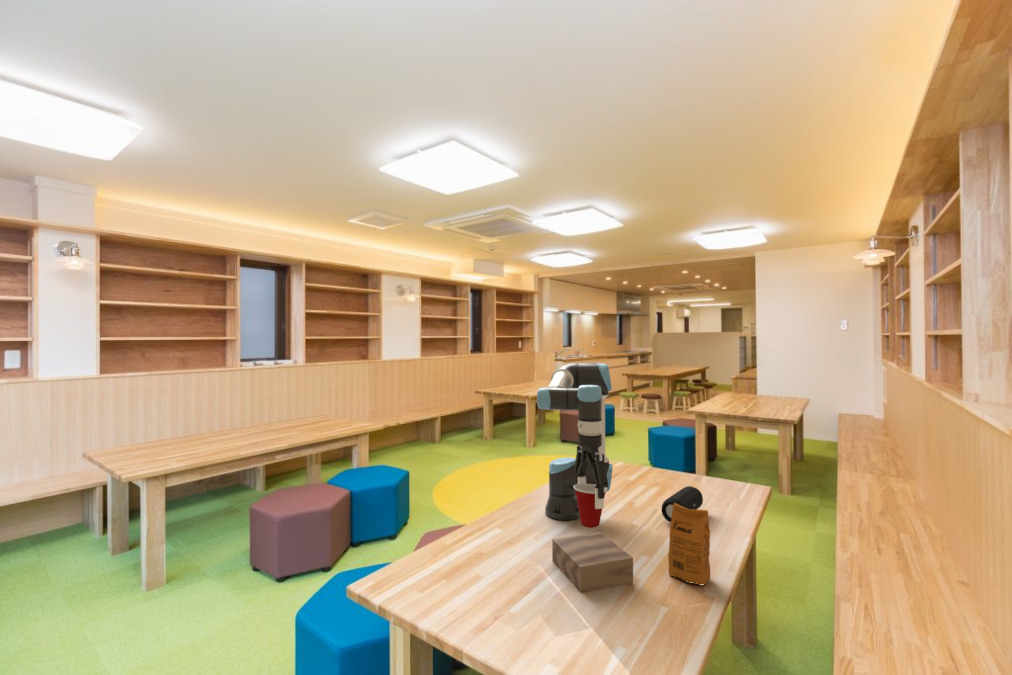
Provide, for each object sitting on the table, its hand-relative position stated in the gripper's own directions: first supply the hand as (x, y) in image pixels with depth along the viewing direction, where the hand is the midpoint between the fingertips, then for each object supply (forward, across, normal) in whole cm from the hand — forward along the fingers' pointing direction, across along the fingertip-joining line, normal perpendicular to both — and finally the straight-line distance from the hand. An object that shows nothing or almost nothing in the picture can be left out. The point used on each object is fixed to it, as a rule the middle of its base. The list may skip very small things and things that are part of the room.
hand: (590, 502), depth 146 cm
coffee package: (+23, +12, +28) cm, 38 cm away
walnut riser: (+23, 0, 0) cm, 23 cm away
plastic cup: (+7, 0, 0) cm, 7 cm away
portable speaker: (+23, -30, +61) cm, 72 cm away
